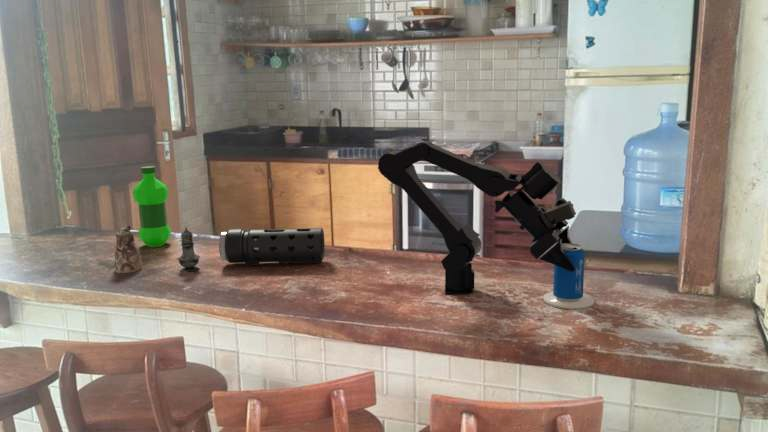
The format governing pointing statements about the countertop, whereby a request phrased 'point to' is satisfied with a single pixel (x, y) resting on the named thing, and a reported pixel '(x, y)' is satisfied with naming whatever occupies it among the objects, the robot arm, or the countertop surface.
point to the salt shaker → (188, 254)
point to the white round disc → (580, 304)
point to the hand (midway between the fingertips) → (576, 264)
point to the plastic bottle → (152, 209)
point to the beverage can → (570, 275)
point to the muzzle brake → (272, 246)
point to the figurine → (126, 252)
